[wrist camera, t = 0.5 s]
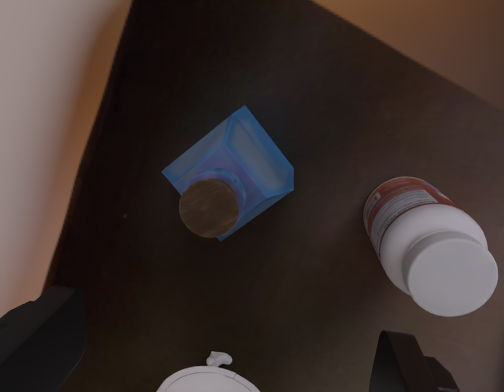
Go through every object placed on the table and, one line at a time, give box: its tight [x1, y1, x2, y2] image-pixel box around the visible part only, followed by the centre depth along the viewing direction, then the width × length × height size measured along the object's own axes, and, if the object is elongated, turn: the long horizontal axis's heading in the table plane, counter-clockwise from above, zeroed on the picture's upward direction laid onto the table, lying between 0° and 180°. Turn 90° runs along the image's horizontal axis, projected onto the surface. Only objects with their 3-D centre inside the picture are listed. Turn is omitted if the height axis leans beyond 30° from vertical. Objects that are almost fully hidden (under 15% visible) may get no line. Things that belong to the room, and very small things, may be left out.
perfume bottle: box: [161, 105, 294, 242], centre depth 27 cm, size 6×6×12 cm
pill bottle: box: [363, 177, 498, 317], centre depth 27 cm, size 6×6×11 cm
